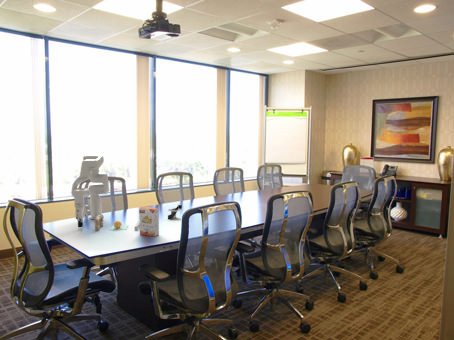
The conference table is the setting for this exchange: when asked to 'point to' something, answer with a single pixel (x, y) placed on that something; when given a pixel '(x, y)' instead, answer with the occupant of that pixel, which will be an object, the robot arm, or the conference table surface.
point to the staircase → (174, 212)
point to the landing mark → (119, 228)
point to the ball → (117, 224)
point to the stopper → (137, 225)
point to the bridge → (98, 222)
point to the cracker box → (149, 221)
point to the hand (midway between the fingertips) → (80, 227)
